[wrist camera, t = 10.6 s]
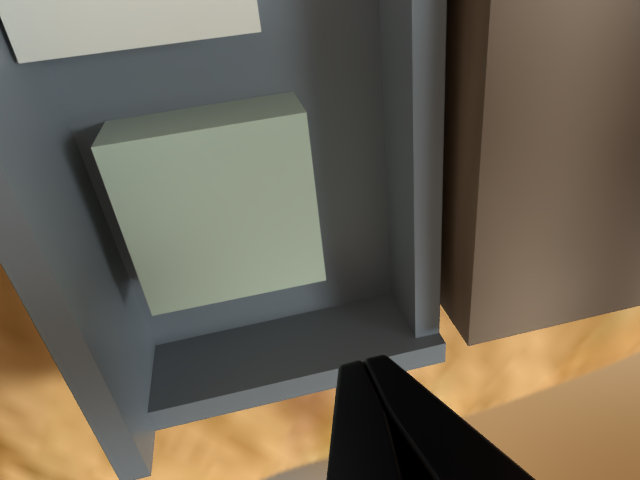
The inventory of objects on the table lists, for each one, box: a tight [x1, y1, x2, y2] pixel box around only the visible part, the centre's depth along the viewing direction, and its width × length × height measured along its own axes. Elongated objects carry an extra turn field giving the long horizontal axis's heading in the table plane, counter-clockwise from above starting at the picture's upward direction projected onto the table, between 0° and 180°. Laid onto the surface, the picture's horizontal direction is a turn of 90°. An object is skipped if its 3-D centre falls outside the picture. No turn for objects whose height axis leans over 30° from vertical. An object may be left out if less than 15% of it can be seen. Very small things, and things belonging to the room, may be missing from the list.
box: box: [0, 0, 447, 480], centre depth 11 cm, size 10×20×5 cm, turn 6°
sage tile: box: [91, 91, 326, 316], centre depth 14 cm, size 5×5×2 cm
